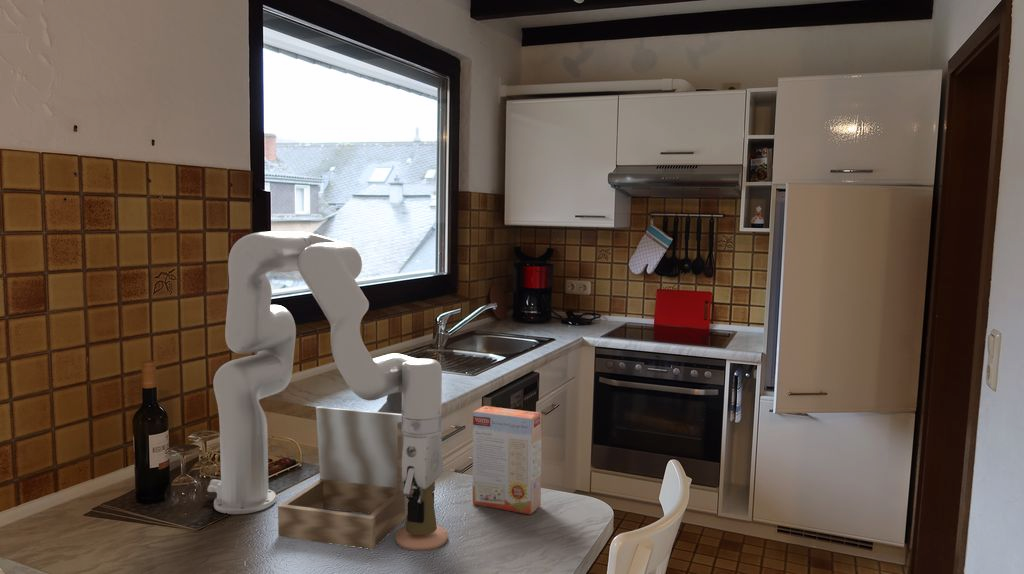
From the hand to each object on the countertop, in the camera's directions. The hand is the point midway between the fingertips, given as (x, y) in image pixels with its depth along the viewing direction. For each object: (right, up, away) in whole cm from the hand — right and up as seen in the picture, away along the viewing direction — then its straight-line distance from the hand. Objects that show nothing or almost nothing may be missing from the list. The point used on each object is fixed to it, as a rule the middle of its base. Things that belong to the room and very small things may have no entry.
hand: (420, 515), depth 140 cm
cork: (0, -3, 0) cm, 3 cm away
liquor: (-9, -2, +27) cm, 28 cm away
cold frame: (-16, -4, +6) cm, 17 cm away
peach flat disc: (0, -5, 0) cm, 5 cm away
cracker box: (+16, -4, +18) cm, 24 cm away
